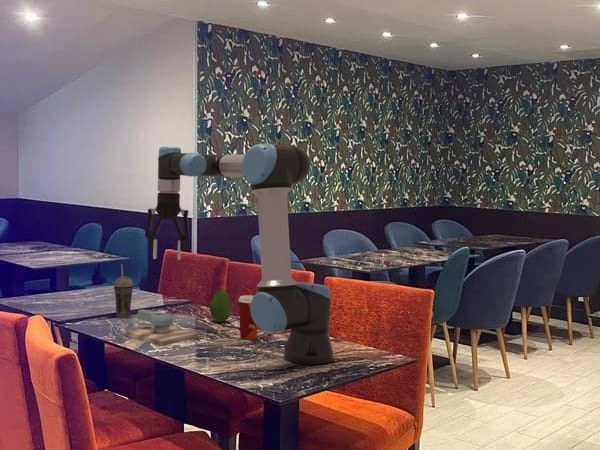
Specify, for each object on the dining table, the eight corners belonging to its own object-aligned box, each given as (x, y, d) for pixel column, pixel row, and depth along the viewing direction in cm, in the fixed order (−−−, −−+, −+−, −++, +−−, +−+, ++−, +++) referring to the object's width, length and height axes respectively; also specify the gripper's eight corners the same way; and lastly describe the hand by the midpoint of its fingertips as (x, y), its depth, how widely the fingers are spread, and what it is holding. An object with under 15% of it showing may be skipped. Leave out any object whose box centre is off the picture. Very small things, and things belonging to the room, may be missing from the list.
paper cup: (256, 341, 230) (257, 299, 229) (234, 339, 231) (235, 298, 230) (262, 336, 237) (263, 295, 236) (240, 334, 239) (242, 294, 238)
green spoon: (176, 324, 232) (177, 315, 231) (160, 327, 226) (161, 318, 226) (148, 317, 240) (148, 308, 240) (132, 320, 235) (132, 311, 235)
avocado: (231, 319, 262) (232, 288, 261) (230, 324, 254) (231, 292, 253) (210, 319, 261) (211, 287, 260) (208, 323, 254) (209, 291, 253)
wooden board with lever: (197, 337, 232) (198, 325, 232) (161, 345, 219) (161, 333, 219) (161, 328, 243) (162, 317, 243) (125, 335, 230) (125, 323, 230)
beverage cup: (137, 316, 260) (138, 264, 259) (122, 319, 254) (123, 265, 253) (123, 314, 264) (124, 262, 263) (108, 316, 258) (109, 263, 256)
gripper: (200, 193, 240) (198, 258, 241) (140, 190, 239) (139, 256, 240) (197, 193, 232) (195, 261, 234) (136, 191, 231) (134, 259, 233)
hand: (167, 258), depth 237 cm, fingers open, 8 cm apart
